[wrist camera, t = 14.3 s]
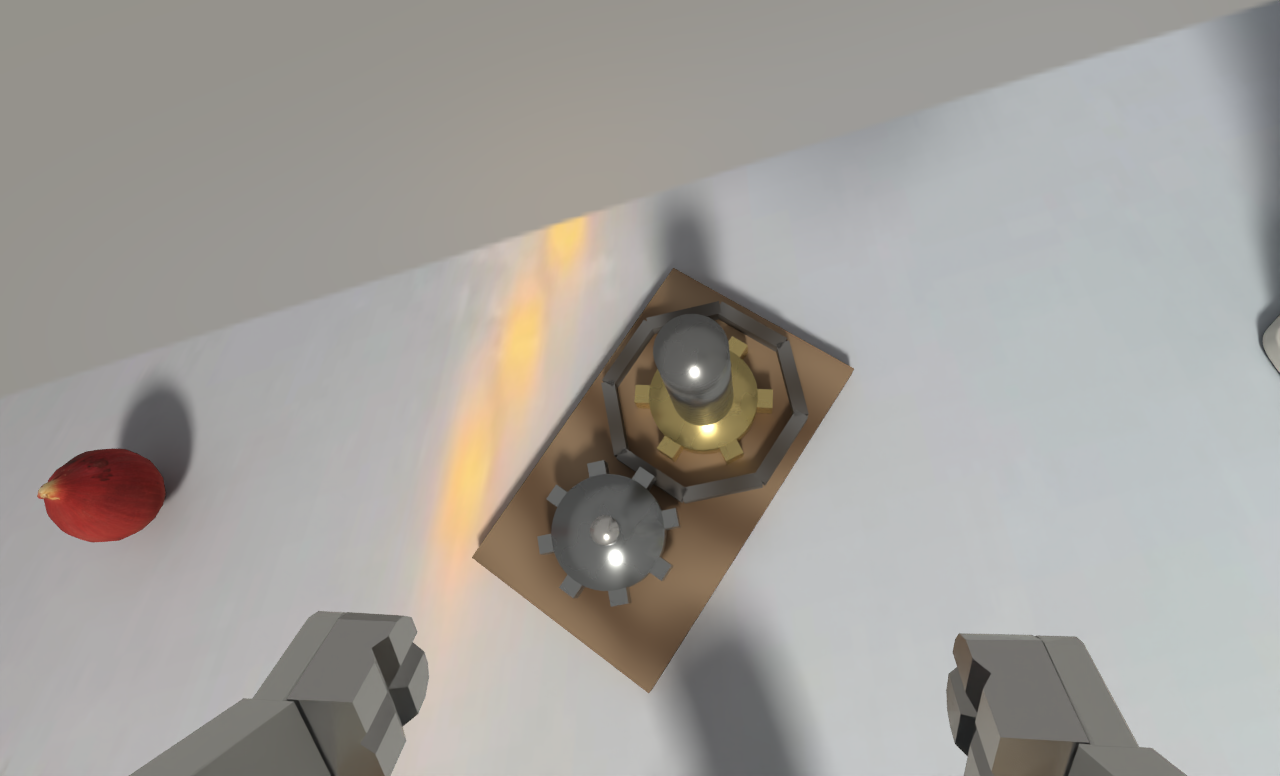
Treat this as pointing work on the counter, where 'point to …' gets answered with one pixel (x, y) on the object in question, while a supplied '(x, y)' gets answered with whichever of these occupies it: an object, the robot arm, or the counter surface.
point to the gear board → (665, 481)
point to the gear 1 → (609, 533)
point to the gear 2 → (701, 389)
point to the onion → (104, 495)
